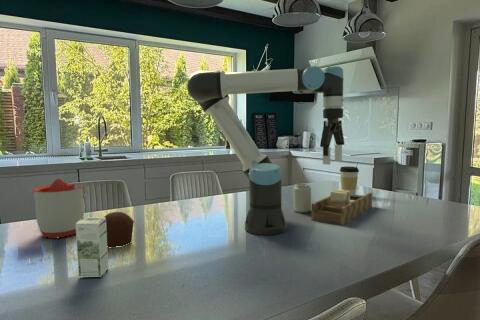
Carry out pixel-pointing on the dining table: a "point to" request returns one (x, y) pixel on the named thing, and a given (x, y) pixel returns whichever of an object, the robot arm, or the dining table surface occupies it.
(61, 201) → the citrus juicer
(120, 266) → the dining table surface
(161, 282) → the dining table surface
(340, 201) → the maple block
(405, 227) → the dining table surface
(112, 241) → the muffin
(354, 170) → the coffee cup
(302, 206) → the can
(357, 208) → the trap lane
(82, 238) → the syrup box
